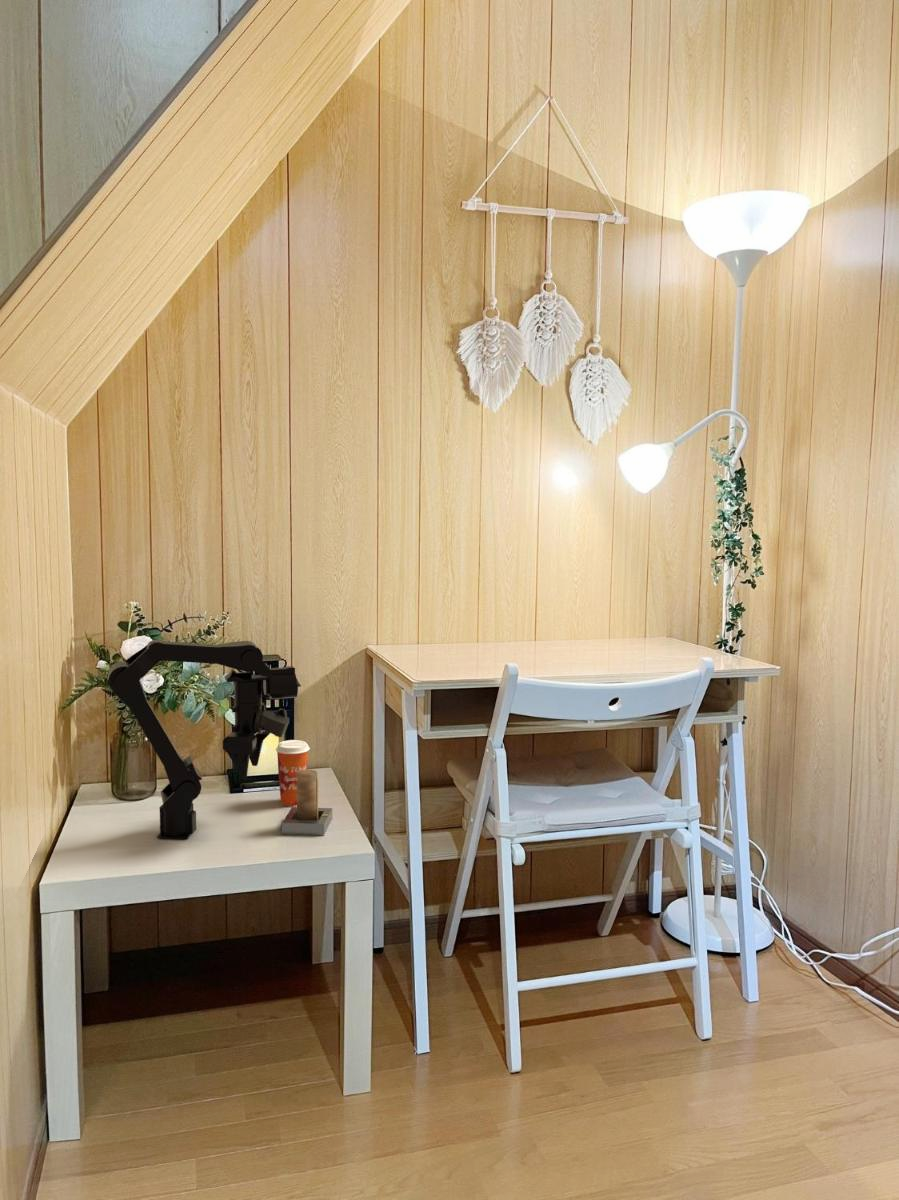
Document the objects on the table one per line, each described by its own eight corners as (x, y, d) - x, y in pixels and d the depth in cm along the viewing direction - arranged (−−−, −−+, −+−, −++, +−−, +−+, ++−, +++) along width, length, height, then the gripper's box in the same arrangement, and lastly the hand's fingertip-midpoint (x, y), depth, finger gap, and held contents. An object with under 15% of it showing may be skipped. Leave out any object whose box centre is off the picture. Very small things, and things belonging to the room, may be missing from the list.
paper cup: (277, 808, 215) (276, 749, 213) (275, 798, 222) (274, 740, 221) (311, 806, 217) (311, 747, 215) (308, 795, 224) (308, 738, 222)
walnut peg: (295, 829, 202) (294, 775, 200) (299, 822, 206) (298, 769, 205) (316, 830, 201) (315, 776, 200) (319, 823, 206) (319, 770, 204)
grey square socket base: (282, 834, 199) (281, 821, 199) (292, 818, 209) (292, 806, 209) (324, 835, 199) (324, 823, 198) (332, 819, 208) (332, 807, 208)
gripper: (275, 711, 191) (276, 786, 193) (294, 692, 209) (295, 760, 211) (221, 710, 192) (222, 785, 193) (245, 691, 210) (246, 759, 212)
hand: (249, 771), depth 202 cm, fingers open, 9 cm apart
